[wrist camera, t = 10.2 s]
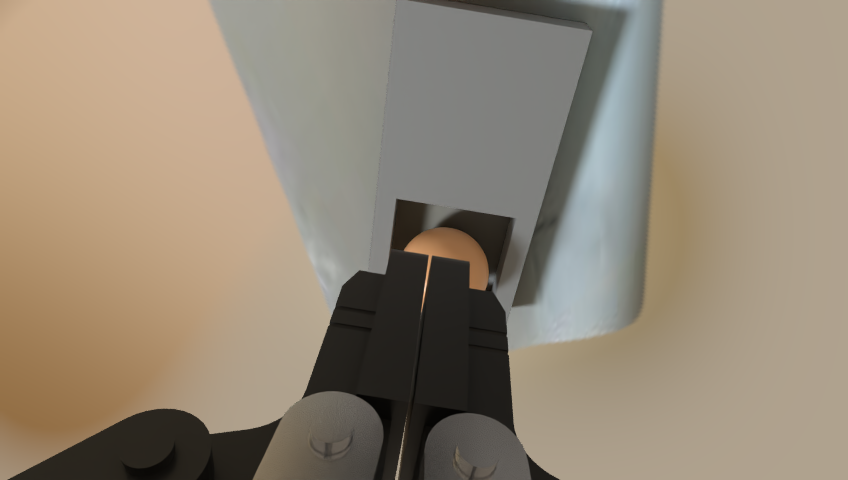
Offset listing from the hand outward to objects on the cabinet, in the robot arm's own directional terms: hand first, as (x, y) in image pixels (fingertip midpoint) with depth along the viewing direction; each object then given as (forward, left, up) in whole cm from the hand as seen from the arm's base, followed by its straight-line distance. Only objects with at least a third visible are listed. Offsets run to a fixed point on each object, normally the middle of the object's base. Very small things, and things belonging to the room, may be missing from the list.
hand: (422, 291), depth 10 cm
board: (+11, +2, -29) cm, 31 cm away
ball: (+18, +2, -26) cm, 31 cm away
